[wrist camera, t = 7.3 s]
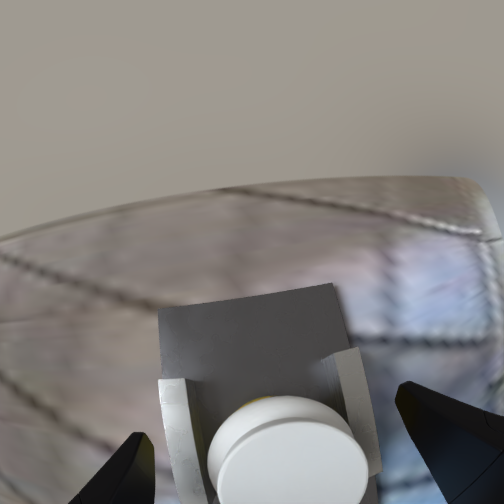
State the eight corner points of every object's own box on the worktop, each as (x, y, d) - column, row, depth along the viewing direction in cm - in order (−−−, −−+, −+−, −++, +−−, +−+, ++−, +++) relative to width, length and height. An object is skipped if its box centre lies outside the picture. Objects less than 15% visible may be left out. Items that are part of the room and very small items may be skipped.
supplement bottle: (309, 387, 15) (381, 373, 6) (321, 465, 12) (397, 526, 3) (219, 400, 14) (175, 407, 6) (231, 479, 12) (209, 565, 3)
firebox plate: (374, 510, 10) (395, 525, 7) (202, 544, 9) (193, 565, 6) (329, 287, 19) (342, 266, 16) (161, 312, 18) (145, 295, 15)
